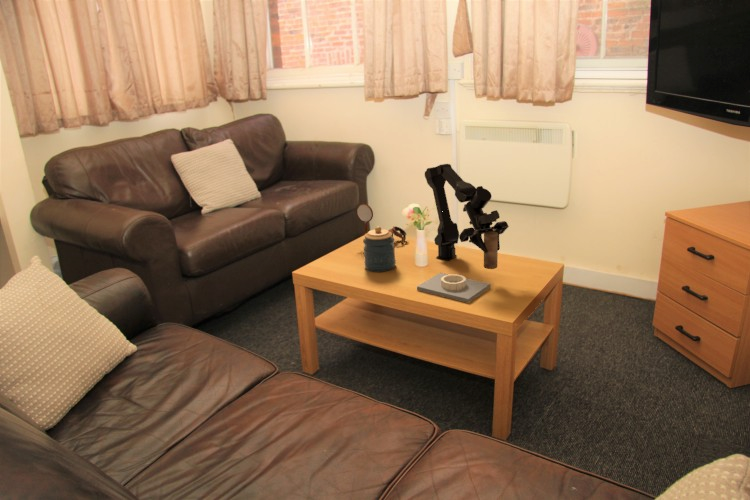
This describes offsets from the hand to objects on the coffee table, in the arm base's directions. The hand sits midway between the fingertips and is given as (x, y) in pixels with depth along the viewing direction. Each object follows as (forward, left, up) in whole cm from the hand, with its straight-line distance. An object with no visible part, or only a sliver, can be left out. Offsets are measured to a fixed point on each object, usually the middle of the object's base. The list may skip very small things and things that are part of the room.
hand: (492, 251), depth 217 cm
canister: (-48, -7, -14) cm, 51 cm away
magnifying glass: (-70, +11, -14) cm, 73 cm away
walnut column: (-1, +1, -7) cm, 7 cm away
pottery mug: (-62, +21, -14) cm, 67 cm away
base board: (-10, -11, -13) cm, 20 cm away
